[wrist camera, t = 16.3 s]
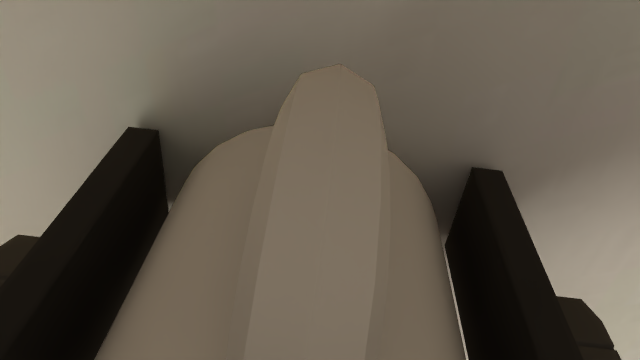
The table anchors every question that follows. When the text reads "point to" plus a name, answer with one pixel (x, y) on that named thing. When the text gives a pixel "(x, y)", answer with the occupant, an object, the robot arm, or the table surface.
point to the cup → (296, 246)
